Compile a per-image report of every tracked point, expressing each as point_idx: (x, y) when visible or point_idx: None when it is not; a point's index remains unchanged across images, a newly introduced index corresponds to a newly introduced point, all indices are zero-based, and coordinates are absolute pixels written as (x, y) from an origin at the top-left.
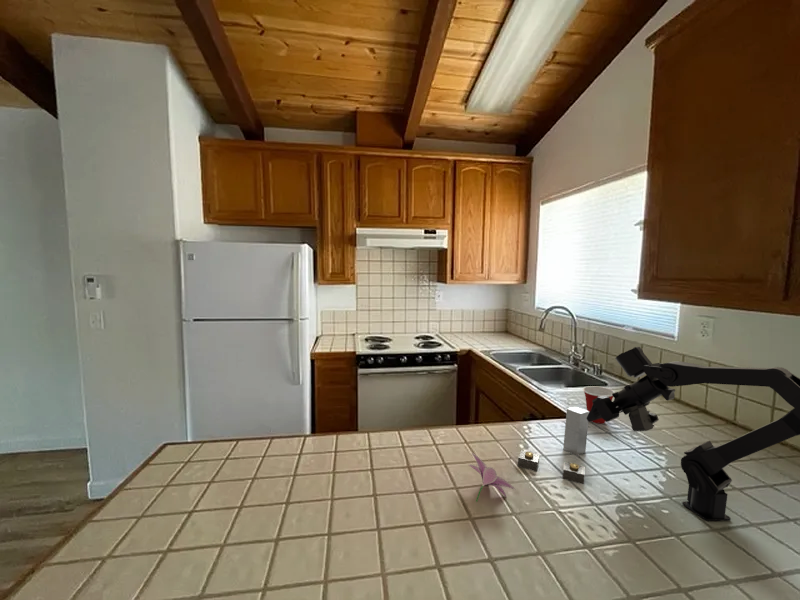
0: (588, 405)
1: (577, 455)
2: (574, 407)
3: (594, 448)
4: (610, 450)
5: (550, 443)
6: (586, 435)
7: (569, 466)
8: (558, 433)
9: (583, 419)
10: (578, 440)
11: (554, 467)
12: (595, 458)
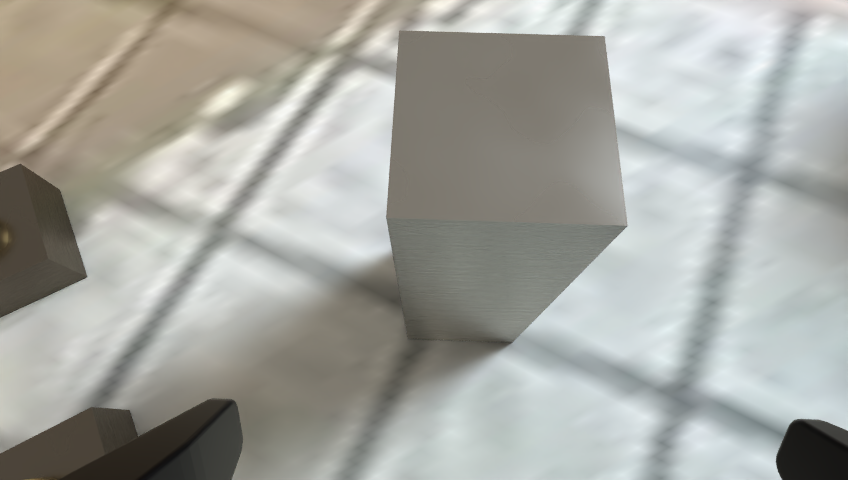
0: None
1: (417, 338)
2: (552, 48)
3: (643, 337)
4: (738, 417)
5: None
6: (530, 314)
7: (32, 478)
8: None
9: (469, 257)
10: (407, 315)
11: (117, 355)
12: (499, 429)
